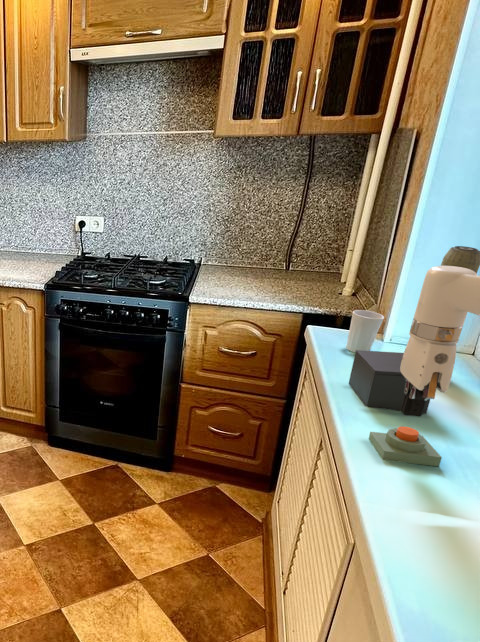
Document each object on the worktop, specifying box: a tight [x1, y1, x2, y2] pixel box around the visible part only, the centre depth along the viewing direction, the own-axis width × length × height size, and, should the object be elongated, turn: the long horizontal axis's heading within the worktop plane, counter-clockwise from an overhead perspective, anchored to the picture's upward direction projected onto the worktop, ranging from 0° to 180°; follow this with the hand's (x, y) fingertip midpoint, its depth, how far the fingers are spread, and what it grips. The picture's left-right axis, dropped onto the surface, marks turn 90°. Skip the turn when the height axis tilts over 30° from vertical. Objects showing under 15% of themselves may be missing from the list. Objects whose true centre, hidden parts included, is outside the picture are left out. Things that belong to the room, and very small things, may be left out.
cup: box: [345, 309, 385, 353], centre depth 161 cm, size 8×8×12 cm
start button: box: [396, 426, 420, 442], centre depth 109 cm, size 4×4×2 cm
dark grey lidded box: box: [348, 352, 431, 415], centre depth 132 cm, size 13×14×9 cm
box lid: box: [354, 350, 404, 376], centre depth 129 cm, size 13×14×5 cm
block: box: [368, 427, 443, 467], centre depth 110 cm, size 10×8×4 cm
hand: (410, 413), depth 108 cm, fingers closed
